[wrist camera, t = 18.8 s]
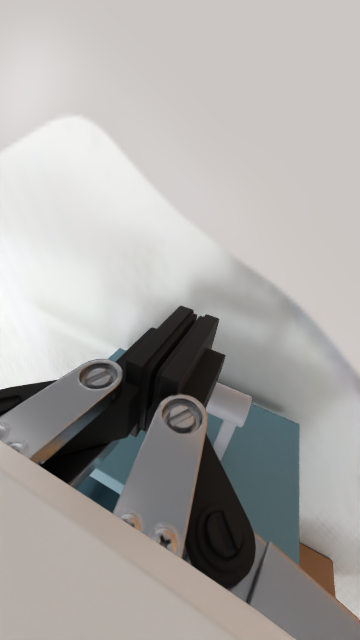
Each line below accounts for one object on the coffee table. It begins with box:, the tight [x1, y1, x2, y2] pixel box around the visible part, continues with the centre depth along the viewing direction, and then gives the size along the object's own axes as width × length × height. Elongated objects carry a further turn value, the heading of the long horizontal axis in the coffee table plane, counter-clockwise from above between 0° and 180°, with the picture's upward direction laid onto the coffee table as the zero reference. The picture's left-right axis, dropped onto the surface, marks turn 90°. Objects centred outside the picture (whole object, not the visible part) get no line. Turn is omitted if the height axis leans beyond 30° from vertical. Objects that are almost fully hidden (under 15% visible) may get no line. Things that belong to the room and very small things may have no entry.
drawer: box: [76, 348, 299, 566], centre depth 16 cm, size 18×13×8 cm
